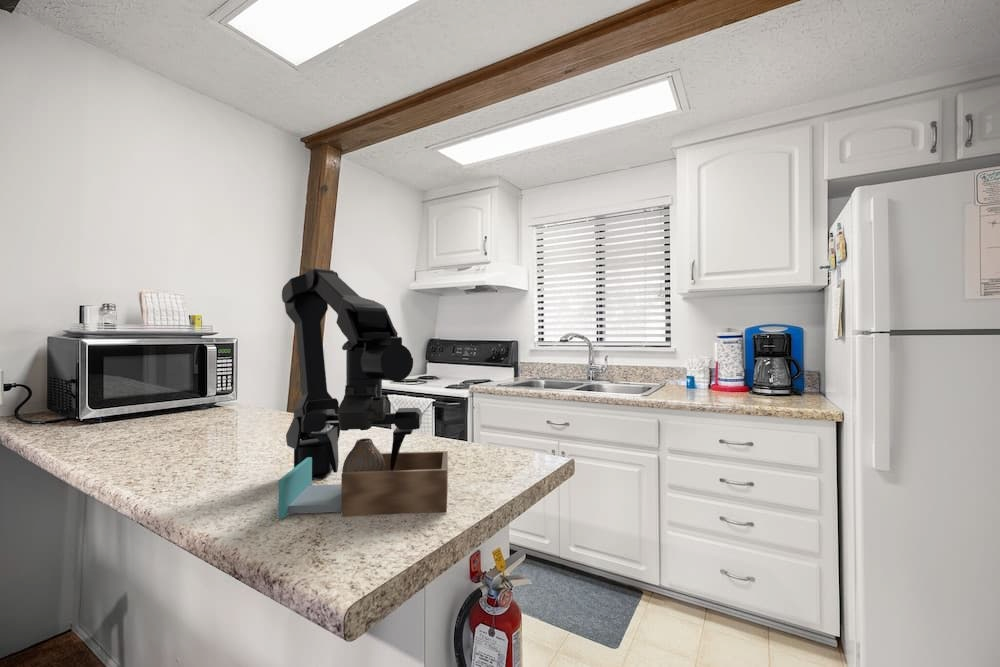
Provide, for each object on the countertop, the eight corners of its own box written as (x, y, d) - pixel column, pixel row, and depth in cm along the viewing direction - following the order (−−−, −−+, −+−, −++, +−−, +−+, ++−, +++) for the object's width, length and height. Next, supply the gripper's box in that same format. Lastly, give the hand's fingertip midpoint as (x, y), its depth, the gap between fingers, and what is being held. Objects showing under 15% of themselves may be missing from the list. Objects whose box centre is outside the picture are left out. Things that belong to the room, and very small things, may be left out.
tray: (278, 518, 66) (278, 480, 66) (307, 489, 78) (307, 457, 79) (386, 513, 67) (386, 476, 67) (397, 485, 80) (397, 454, 80)
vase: (378, 500, 70) (378, 444, 70) (335, 499, 70) (335, 444, 70) (390, 485, 77) (390, 435, 77) (351, 485, 77) (351, 435, 77)
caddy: (341, 516, 67) (341, 473, 67) (358, 489, 79) (358, 453, 79) (446, 511, 69) (446, 470, 69) (447, 486, 81) (447, 451, 81)
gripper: (288, 383, 65) (287, 489, 64) (416, 381, 66) (416, 484, 66) (312, 376, 76) (312, 467, 75) (421, 375, 78) (421, 464, 77)
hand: (364, 471), depth 73 cm, fingers open, 9 cm apart
